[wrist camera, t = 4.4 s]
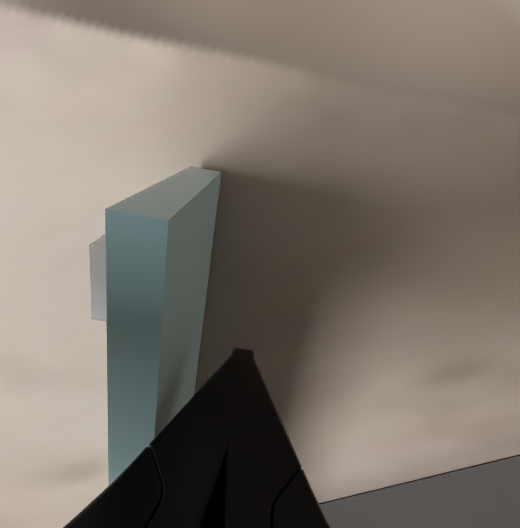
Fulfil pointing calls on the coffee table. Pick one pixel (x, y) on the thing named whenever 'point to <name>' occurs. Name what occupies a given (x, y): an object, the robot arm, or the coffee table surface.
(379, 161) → the coffee table surface
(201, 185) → the door
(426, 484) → the block
